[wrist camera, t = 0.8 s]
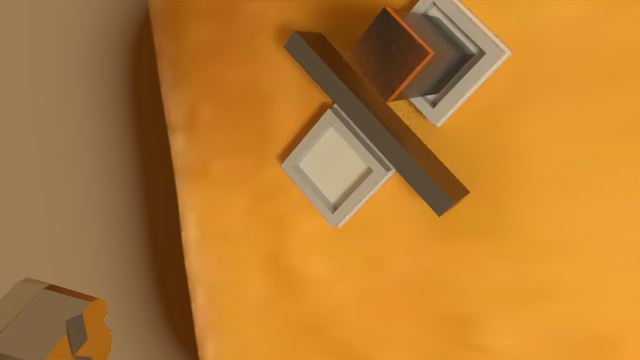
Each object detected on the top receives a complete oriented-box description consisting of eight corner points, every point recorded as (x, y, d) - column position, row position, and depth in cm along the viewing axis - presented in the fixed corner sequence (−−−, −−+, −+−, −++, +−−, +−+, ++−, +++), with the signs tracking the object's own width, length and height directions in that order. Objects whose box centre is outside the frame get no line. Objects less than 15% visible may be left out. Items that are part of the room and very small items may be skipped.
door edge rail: (320, 32, 50) (295, 31, 46) (470, 192, 46) (454, 202, 42) (309, 47, 51) (283, 46, 47) (455, 205, 47) (439, 217, 43)
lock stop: (438, 16, 44) (384, 6, 36) (476, 54, 43) (430, 53, 35) (402, 57, 46) (343, 57, 38) (438, 94, 45) (386, 102, 37)
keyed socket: (339, 102, 50) (328, 103, 49) (399, 168, 48) (390, 172, 47) (288, 162, 54) (276, 166, 52) (342, 226, 52) (332, 231, 51)
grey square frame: (440, -19, 44) (432, -21, 43) (513, 52, 43) (508, 52, 41) (375, 58, 48) (366, 58, 46) (440, 126, 46) (433, 129, 45)
